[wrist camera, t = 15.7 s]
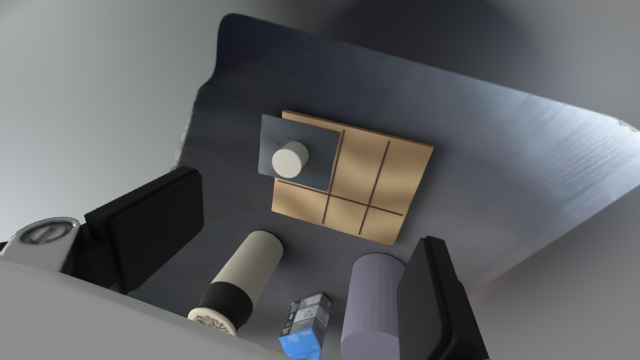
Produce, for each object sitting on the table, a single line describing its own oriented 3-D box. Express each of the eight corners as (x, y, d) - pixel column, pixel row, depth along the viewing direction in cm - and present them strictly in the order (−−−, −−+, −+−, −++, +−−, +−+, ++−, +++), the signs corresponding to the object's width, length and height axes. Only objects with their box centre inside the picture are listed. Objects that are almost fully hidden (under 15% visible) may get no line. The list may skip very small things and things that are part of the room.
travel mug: (256, 222, 48) (193, 299, 32) (290, 244, 49) (244, 331, 33) (242, 247, 52) (180, 327, 36) (274, 267, 52) (226, 355, 36)
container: (363, 243, 44) (354, 319, 31) (418, 265, 44) (433, 352, 30) (344, 281, 49) (330, 360, 36) (394, 301, 48) (398, 389, 35)
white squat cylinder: (283, 138, 38) (273, 145, 34) (311, 145, 37) (303, 153, 34) (280, 164, 40) (270, 173, 36) (306, 171, 39) (298, 181, 36)
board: (267, 105, 38) (262, 106, 36) (432, 144, 35) (434, 148, 33) (259, 202, 46) (255, 207, 45) (392, 241, 43) (392, 247, 41)
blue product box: (322, 290, 52) (305, 350, 41) (333, 303, 53) (320, 365, 42) (291, 302, 56) (269, 359, 45) (302, 313, 57) (283, 372, 46)
